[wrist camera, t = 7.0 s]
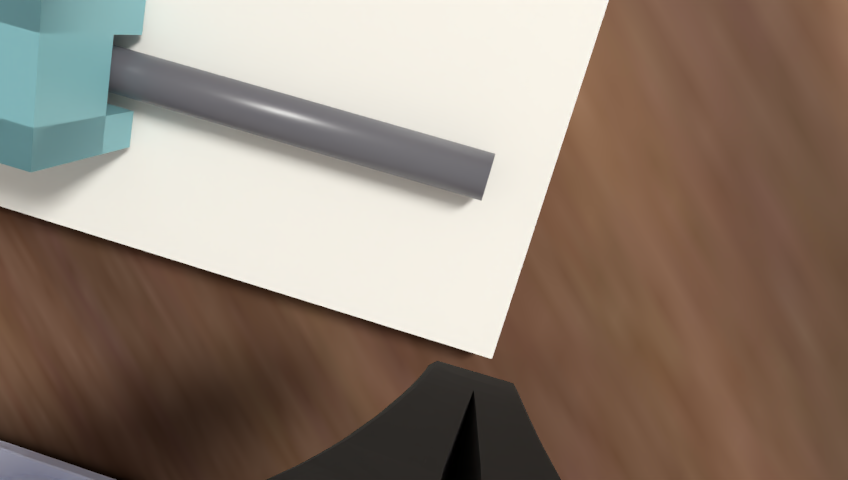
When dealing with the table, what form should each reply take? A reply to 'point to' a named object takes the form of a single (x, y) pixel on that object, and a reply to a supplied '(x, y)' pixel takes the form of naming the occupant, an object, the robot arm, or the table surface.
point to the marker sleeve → (61, 80)
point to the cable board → (337, 150)
